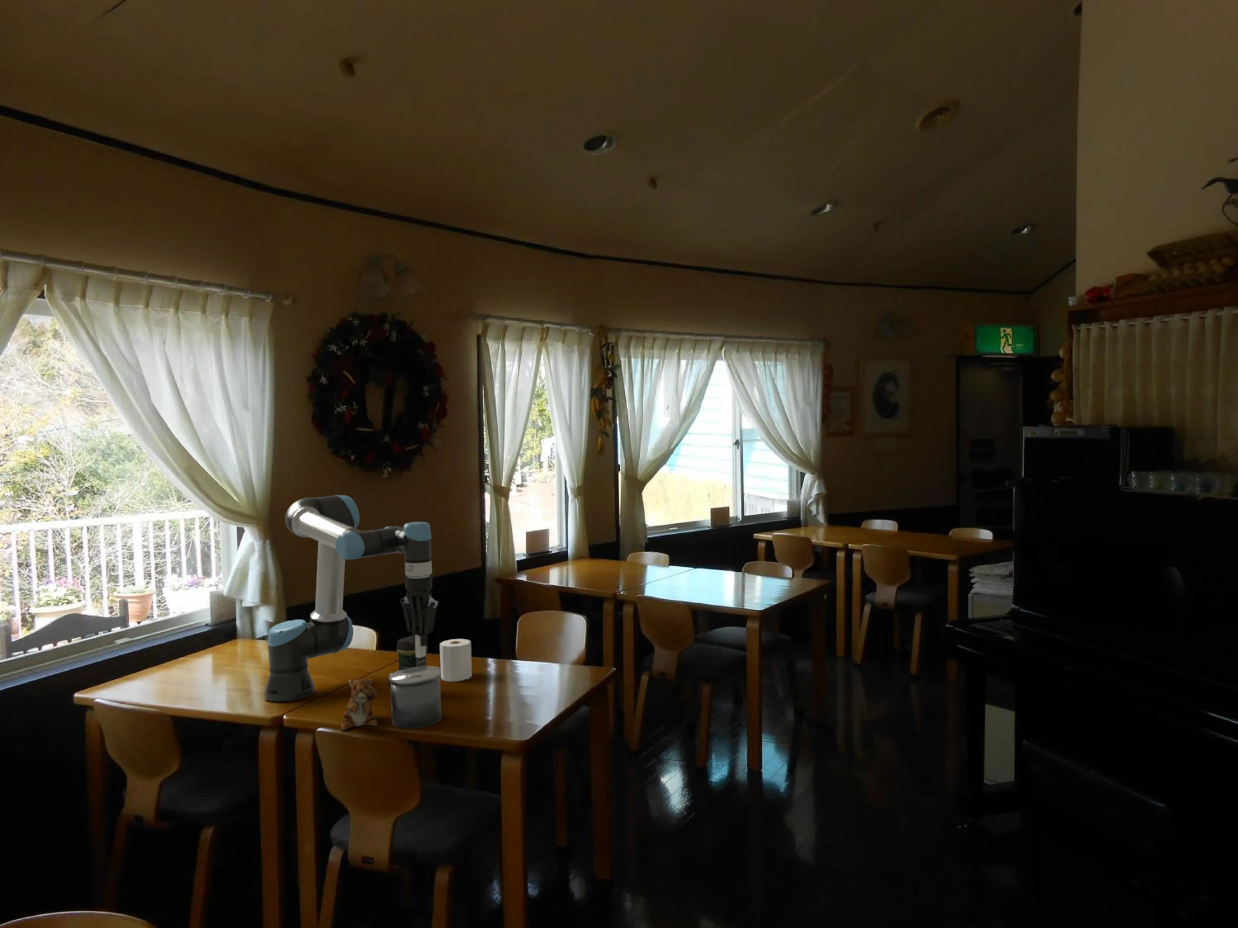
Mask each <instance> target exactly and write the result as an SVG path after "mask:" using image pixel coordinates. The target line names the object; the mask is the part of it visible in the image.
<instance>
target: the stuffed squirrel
mask: <svg viewBox="0 0 1238 928" xmlns="http://www.w3.org/2000/svg"><path fill="white" fill-rule="evenodd" d="M372 682H373V679H372V678H370V679H365V678H359V679H355V680H352V679H349V680H348V683H349V685H350V687H351V697H350V699H349V700H348V703H347V705H346V709H347V710H346V711H344V712H343V714H342V716H341V717H342V724H341V725H340V729H341V731H347V730H349V729H351V728H353V727H362V726H361V725H363V726H367V725H370V726H369V727H376V726H378V724H379V723H378V720H377V718H376V715H375V714H374V712H373V711H374V710H373V705H372V700H373V701H374V699H375V698H376V696H377V693H378V691H377V690H376V689H375V688H374V687H373V686H372V685H371V683H372Z"/></svg>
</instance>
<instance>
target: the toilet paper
mask: <svg viewBox="0 0 1238 928" xmlns="http://www.w3.org/2000/svg"><path fill="white" fill-rule="evenodd" d="M471 642H472V641H471V640H469V639H464V638H455V639H452V638H451V639H448V640H443V641H442V642H440V643H439V656H440V657H439V658H440V659H439V661H440V672H441V675H440V680H442V681H444V682H450V683H451V682H461V681H465V679H466V680H469V679H471V678H472V676H473V669H472V668H473V666H472V643H471Z"/></svg>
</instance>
